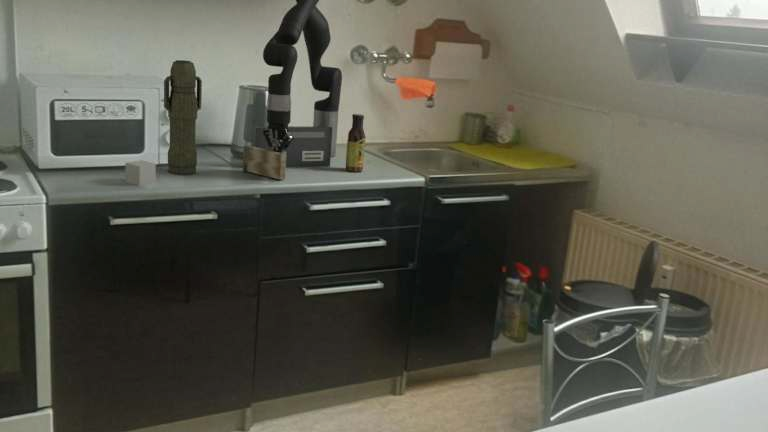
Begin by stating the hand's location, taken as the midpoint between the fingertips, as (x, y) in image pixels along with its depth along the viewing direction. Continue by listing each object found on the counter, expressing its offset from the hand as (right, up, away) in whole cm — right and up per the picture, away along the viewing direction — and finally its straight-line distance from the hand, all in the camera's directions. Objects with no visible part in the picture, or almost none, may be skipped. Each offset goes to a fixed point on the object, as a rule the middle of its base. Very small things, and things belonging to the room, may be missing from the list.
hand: (277, 161), depth 239 cm
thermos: (-30, -4, -3) cm, 31 cm away
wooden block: (-5, -4, +1) cm, 7 cm away
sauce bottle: (+24, -2, +21) cm, 32 cm away
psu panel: (+3, -1, +18) cm, 18 cm away
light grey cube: (-38, -8, -20) cm, 44 cm away
